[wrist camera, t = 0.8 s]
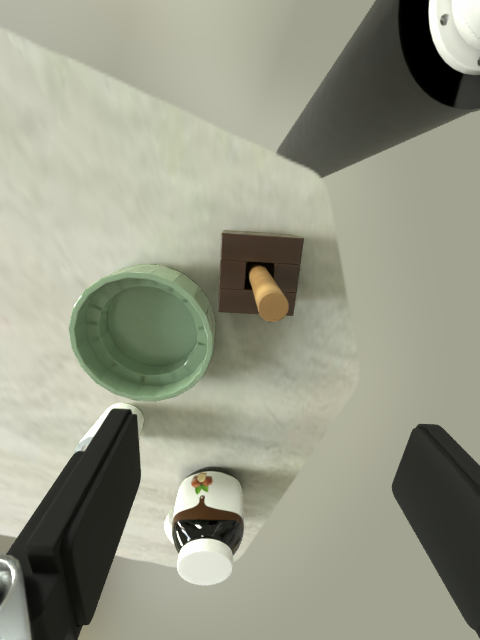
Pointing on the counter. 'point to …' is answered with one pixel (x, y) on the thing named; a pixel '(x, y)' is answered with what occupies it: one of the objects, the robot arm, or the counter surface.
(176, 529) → the spread jar
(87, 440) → the white cup
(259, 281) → the stirring stick
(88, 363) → the bowl
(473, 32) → the robot arm
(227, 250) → the stick holder
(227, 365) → the counter surface
